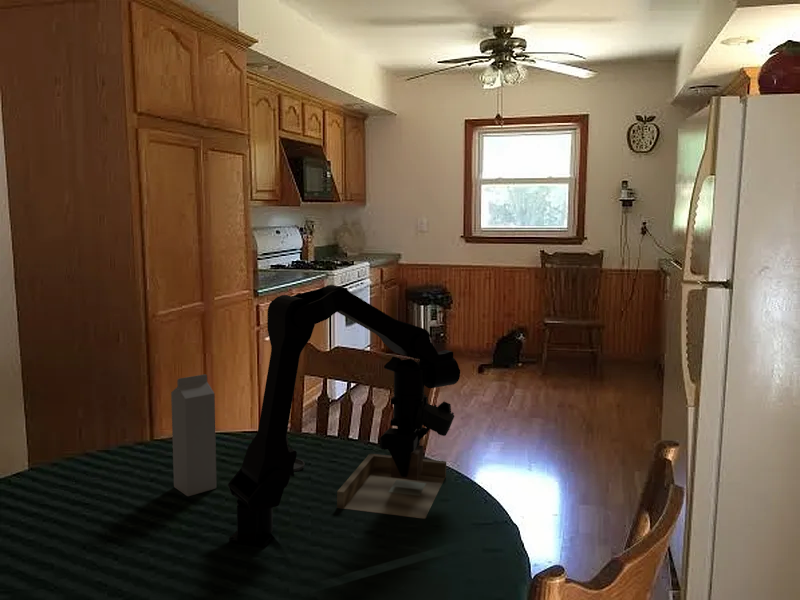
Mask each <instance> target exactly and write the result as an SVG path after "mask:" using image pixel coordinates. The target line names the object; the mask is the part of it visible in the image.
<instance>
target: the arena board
mask: <svg viewBox="0 0 800 600" xmlns="http://www.w3.org/2000/svg"><path fill="white" fill-rule="evenodd" d="M391 457H392V456H391V455H388V454H377V453H369V454H368V455H367V456H366V458H364V459H363V461H361V463H360V464H359V465H358V466H357V468H356V469H355V470H354V471H353V472H352V473H351V474H350V476H349V477H348V478H347V480H345V481H344V483H343V484H342V485H341V487H339V489H338V490H337V491H336V492H337V493H336V494H337V495H336V500H337V501H336V508H337V509H345V510H352V511H361V512H368V513H376V514H384V515H390V516H391V515H392V516H400V517H408V518H417V519H423V520H425V519H426V518H427V516H428V513H429V511H430V510H431V508H432V505H433V503H434V502H435V499H436V498H437V496H438V493H439V491H440V490H441V487H442V485H443V483H444V481H445V479H446V476H447V461H445V460H437V459H428V458H426V459H425V458H423V471H422V473H421V475H420V476H419V478H418V480H409V479H400V478H392V477H391Z"/></svg>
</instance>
